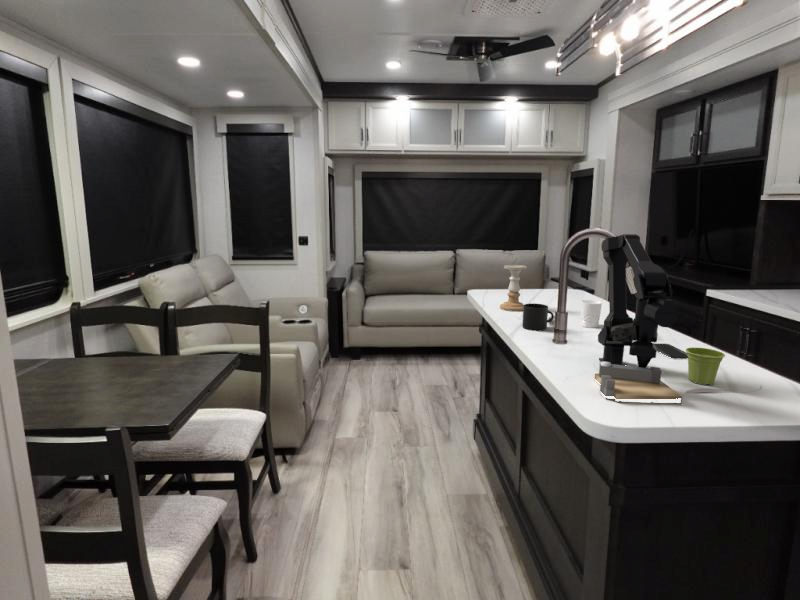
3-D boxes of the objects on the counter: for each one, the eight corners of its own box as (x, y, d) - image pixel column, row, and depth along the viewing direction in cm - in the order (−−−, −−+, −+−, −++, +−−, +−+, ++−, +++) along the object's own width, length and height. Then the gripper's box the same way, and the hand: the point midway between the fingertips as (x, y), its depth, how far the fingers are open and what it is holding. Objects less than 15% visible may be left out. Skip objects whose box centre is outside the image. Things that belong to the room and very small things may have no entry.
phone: (668, 343, 177) (694, 356, 162) (667, 346, 177) (693, 359, 162) (646, 343, 176) (670, 356, 162) (645, 346, 177) (669, 359, 162)
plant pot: (685, 373, 148) (689, 345, 146) (723, 381, 142) (727, 351, 140) (678, 382, 140) (682, 352, 139) (718, 390, 135) (722, 359, 133)
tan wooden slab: (587, 380, 141) (588, 363, 140) (652, 381, 141) (654, 364, 140) (608, 402, 125) (610, 383, 125) (681, 404, 125) (683, 384, 124)
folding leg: (599, 376, 138) (600, 364, 137) (598, 372, 141) (600, 360, 140) (660, 383, 133) (661, 370, 132) (658, 379, 136) (659, 366, 135)
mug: (556, 331, 195) (557, 308, 194) (524, 330, 196) (526, 308, 194) (549, 325, 204) (551, 303, 203) (520, 324, 205) (521, 303, 203)
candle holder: (495, 306, 240) (497, 264, 237) (517, 305, 244) (520, 264, 240) (507, 312, 229) (510, 268, 225) (531, 310, 233) (534, 267, 229)
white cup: (596, 324, 208) (598, 300, 206) (602, 328, 200) (604, 304, 198) (577, 323, 208) (578, 299, 207) (581, 328, 201) (583, 303, 199)
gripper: (617, 306, 146) (612, 357, 149) (611, 321, 130) (605, 378, 133) (660, 310, 141) (654, 362, 144) (659, 327, 125) (652, 385, 128)
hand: (641, 371), depth 138 cm, fingers closed
